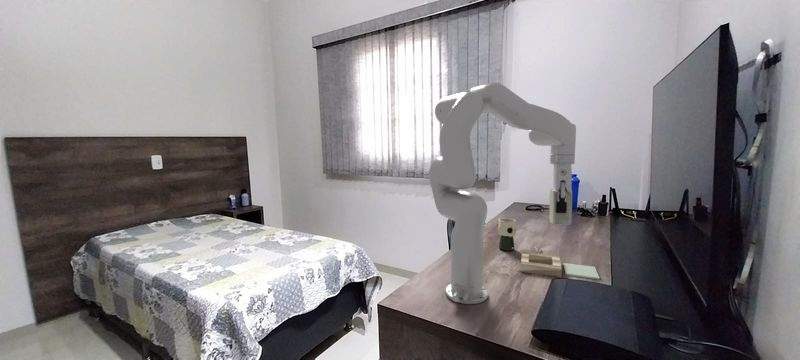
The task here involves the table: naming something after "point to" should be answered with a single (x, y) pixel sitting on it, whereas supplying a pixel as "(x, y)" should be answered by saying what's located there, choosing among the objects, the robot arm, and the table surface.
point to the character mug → (507, 233)
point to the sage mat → (581, 271)
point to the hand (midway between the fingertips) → (560, 210)
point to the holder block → (541, 264)
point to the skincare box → (560, 217)
